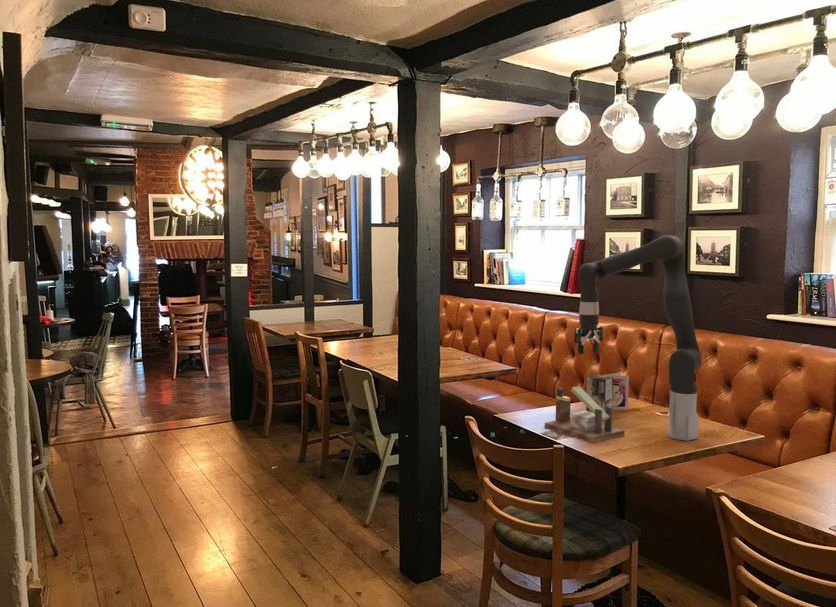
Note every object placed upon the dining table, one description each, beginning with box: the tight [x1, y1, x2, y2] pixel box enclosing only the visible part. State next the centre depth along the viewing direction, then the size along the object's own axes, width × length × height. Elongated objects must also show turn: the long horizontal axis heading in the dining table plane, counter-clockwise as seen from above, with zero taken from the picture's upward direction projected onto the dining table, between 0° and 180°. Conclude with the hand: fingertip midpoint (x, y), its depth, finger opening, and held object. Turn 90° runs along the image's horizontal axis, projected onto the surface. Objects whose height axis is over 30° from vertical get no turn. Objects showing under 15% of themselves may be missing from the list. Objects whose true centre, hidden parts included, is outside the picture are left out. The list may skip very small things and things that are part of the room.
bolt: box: [555, 387, 571, 401], centre depth 260 cm, size 6×2×4 cm, turn 36°
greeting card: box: [601, 372, 630, 411], centre depth 288 cm, size 11×7×15 cm, turn 86°
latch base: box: [544, 399, 625, 444], centre depth 252 cm, size 24×17×11 cm
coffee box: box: [585, 374, 613, 413], centre depth 277 cm, size 9×6×16 cm
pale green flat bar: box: [570, 386, 610, 422], centre depth 249 cm, size 17×4×2 cm, turn 35°
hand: (588, 353), depth 267 cm, fingers open, 8 cm apart
